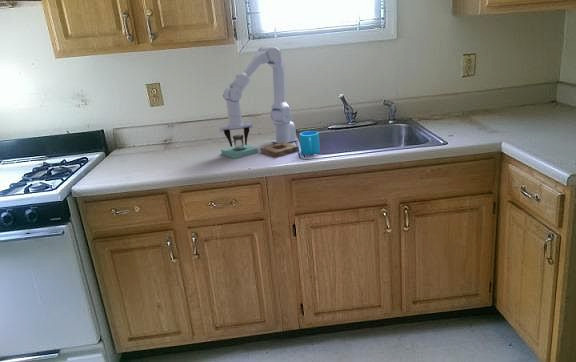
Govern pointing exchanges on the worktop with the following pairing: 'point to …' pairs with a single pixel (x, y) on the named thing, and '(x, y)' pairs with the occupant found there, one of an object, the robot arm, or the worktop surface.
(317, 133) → the mug
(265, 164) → the worktop surface
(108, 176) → the worktop surface
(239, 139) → the lock pin
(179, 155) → the worktop surface
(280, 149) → the mount board
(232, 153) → the socket board
